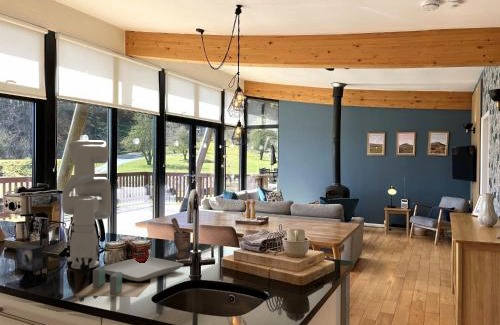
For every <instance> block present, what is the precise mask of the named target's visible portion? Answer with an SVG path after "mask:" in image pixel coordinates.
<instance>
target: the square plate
mask: <svg viewBox="0 0 500 325" xmlns="http://www.w3.org/2000/svg"><path fill="white" fill-rule="evenodd" d="M147 257H148V259H147V261H146V262H145V263H139V262H137V261H136V260H135V259H136V258H131V259H127V260H123V261H118V262H115V263H110V264H107V265H103V266H104V267H105V275H107V276H108V275H109V276H111V275H112V274H114V273H115V272H122V279H124V280H129V281H134V282H143V281H147V280H148V281H149V280H150V279H154V278H157V277H161V276H165V275H167V274H168V275H169V274H170V273H172V272H174V271H177V270H179V269H181V268H182V267H183V266H184V265H185V263H181V262H176V261H172V260H167V259H162V258H156V257H149V256H147Z"/></svg>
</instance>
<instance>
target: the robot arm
mask: <svg viewBox="0 0 500 325" xmlns="http://www.w3.org/2000/svg"><path fill="white" fill-rule="evenodd" d="M109 150H110V149H109V144H108V142H106V141H105V140H87V139H81V140H78V139H77V140H73V141H71V142H70V143H69V144H68V153H69V156H70V159H71V161H72V163H73V170H74V171H73V176H71V177H70V178H69V180H67V181H66V183H65V185H64V186H63V190H62V192H61V193H62V196H61V197H62V199H61V208H62V212H63V213H64V214H65V215H72V216H73V218H72V219H73V225H71V230H73V232H72V233H71V238H70V243H69V244H70V245H69V255H70V256H68V257H67V258H66V262H68V263H71V262H72V263H71V265H70V267H71V268H72V269H74V270H79V271H80V273H81V274H80V275H81V276H86V275H88V274H89V273H90V269H93V268H94V269H95V268H97V267H99V266H100V261H99V260H98V259H99V241H98V234H97V229H96V226H95V224H96V223H95V220H106V219H109V218H110V217H111V216H112V215H111V214H112V189H111V188H112V186H111V181H110V179H109V178H107V177H106V176H96V171H95V170H96V169H95V168H96V166H95V164H107V163H108V162H109V160H110V159H109V158H110V151H109ZM74 189H75V194H76V195H73V196H72V195H71V192H72V191H73V190H74ZM97 197H99V198H100V199H99V198H97Z"/></svg>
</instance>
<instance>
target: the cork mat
mask: <svg viewBox="0 0 500 325" xmlns="http://www.w3.org/2000/svg"><path fill="white" fill-rule="evenodd" d="M151 284H152V283H151V282H150V283H149V282H145V283H144V282H143V283H141V282H122V290H121V291H120V292H118V293H117V294H116V295H110V282H105V283H104V284H103V285H102V286H100V287H99V288H93V282H92V283H91V284H89V285H87V286H86V287H85V288H83V289H82V290H80V291H79V292H77V293H76V294H75V295H74V296H76V297H77V296H79V297H80V296H82V297H88V296H89V297H121V298H122V297H124V298H126V297H127V298H129V297H130V298H131V297H132V298H138V297H139V296H140V295H142V294H143V292H145V290H147V288H148V287H149V286H150V285H151Z"/></svg>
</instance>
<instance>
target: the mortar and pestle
mask: <svg viewBox="0 0 500 325" xmlns="http://www.w3.org/2000/svg"><path fill="white" fill-rule="evenodd" d="M170 221H171V223H172V226H173V227H174V229H175V231H174V232H173V237H174V238H173V240H174V241H173V242H174V247H175V248H176V249H177V253H176V254H175V258H176V259H181V260H182V259H183V260H186V259H188V258H190V254H189V252H188V249H189V248H190V246H191V241H192V240H191V234H192V233H191V231H188V230H181V227H180V225H179V222H178V220H177V218H176V217H173V218H171V220H170Z"/></svg>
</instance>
